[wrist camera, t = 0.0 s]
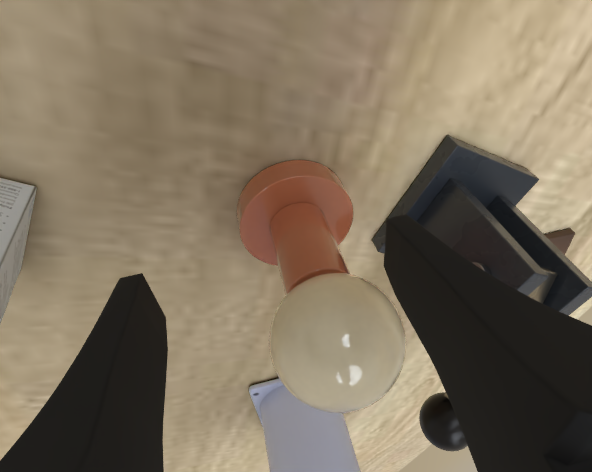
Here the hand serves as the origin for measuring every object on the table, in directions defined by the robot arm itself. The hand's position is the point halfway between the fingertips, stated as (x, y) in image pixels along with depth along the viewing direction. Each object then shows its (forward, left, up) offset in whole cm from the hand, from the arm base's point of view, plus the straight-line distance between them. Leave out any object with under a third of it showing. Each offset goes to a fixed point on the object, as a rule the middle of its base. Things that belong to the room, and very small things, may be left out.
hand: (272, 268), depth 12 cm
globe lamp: (-6, -2, -10) cm, 12 cm away
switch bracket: (-8, -12, -10) cm, 18 cm away
